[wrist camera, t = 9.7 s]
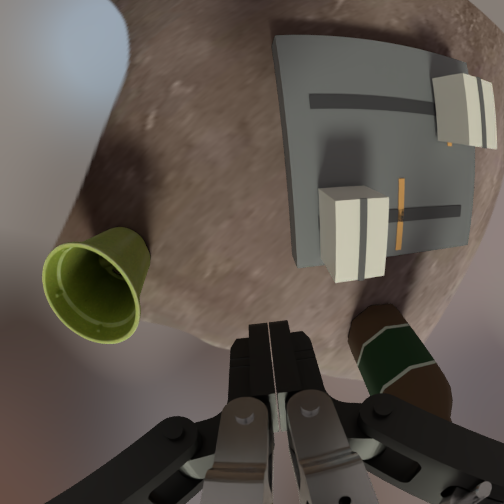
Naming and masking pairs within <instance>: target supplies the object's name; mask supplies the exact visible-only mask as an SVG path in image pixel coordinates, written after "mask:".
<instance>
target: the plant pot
mask: <svg viewBox="0 0 504 504" xmlns="http://www.w3.org/2000/svg"><path fill="white" fill-rule="evenodd" d="M149 266H150V253H149V251H148V249H147V247H146V244H145V242H144V240H143V239H142V238H141V236H139V235H138V234H137V233H136V232H134V231H133V230H131V229H128V228H124V227H116V228H112V229H109V230H107V231H104V232H102V233H100V234H98V235H96V236H94V237H92V238H90V239H88V240H86V241H84V242H68V243H64V244H62V245H60V246H58V247H56V248H55V249H53V250H52V251H51V252H50V254H49V255H48V256H47V258H46V260H45V263H44V266H43V273H42V281H43V287H44V292H45V295H46V298H47V300H48V302H49V304H50V306H51V308H52V309H53V311H54V312H55V314H56V315H57V317H58V318H59V319H60V320H61V321H62V322H63V323H64V324H65V325H66V326H67V327H68V328H69V329H71V330H72V331H73V332H75V333H77V334H78V335H79V336H82V337H83V338H85V339H87V340H90V341H93V342H96V343H102V344H114V343H119V342H122V341H124V340H126V339H128V338H129V337H130V336H131V335H132V334H133V333H134V332H135V330H136V328H137V326H138V324H139V320H140V314H141V308H140V298H139V296H140V293H141V290H142V287H143V283H144V280H145V278H146V275H147V272H148V269H149ZM112 269H115V270H116V271H118V272H120V273H121V274H122V276H120V275H118V274H116V273H115V272H114V271H113V270H112Z"/></svg>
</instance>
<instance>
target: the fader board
mask: <svg viewBox="0 0 504 504" xmlns="http://www.w3.org/2000/svg"><path fill="white" fill-rule="evenodd" d="M272 53H273V60H274V67H275V75H276V83H277V91H278V99H279V107H280V116H281V125H282V135H283V145H284V155H285V166H286V177H287V188H288V201H289V214H290V228H291V244H292V256H293V258H294V261H295V263H296V266H297V268H304V267H312V266H320V265H325V264H324V263H323V261H322V259H321V251H320V215H319V193H318V188H331V187H346V186H366V187H369V188H371V189H373V190H375V191H377V192H379V193H381V194H383V195H385V196H387V197H389V218H388V237H387V251H386V257H389V256H396V255H403V254H410V253H417V252H424V251H431V250H437V249H444V248H450V247H457V246H463V245H468V239H469V232H470V225H471V216H472V207H473V195H474V178H475V146H470V145H464V144H457V143H450V142H443V141H438V132H437V117H436V105H435V96H434V88H433V81H432V78H437V77H442V76H448V75H454V74H460V73H464V74H467V75H468V69H467V64H466V63H465V62H462V61H459V60H456V59H453V58H450V57H447V56H443V55H440V54H436V53H433V52H429V51H425V50H421V49H417V48H412V47H408V46H403V45H398V44H393V43H387V42H381V41H374V40H367V39H359V38H350V37H338V36H322V35H275V37H274V40H273V43H272Z"/></svg>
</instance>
